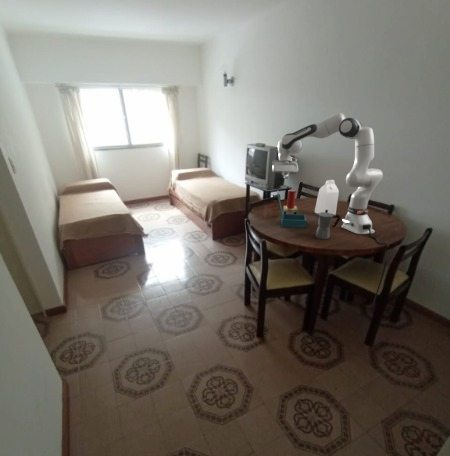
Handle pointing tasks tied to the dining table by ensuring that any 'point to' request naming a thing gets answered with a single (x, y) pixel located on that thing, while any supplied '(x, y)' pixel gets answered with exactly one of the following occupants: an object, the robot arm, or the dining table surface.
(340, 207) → the dining table surface
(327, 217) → the coffeepot
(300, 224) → the teal open box
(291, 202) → the can
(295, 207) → the stool
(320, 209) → the milk
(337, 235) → the dining table surface
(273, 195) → the lid
